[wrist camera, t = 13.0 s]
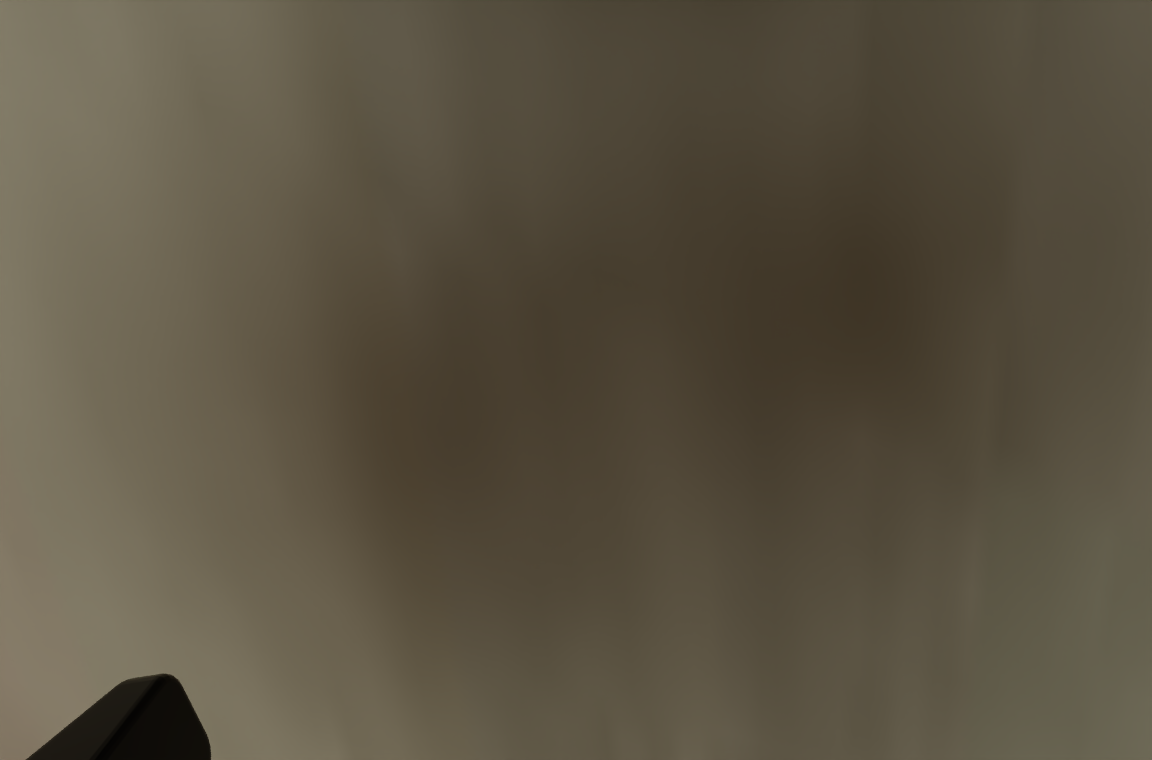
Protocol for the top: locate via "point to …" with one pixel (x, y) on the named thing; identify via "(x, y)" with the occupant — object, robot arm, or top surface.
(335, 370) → the top surface
